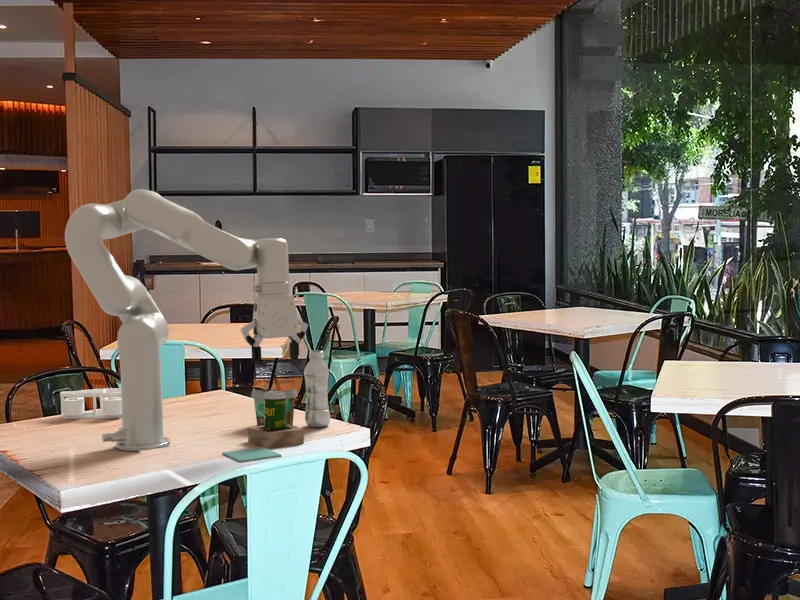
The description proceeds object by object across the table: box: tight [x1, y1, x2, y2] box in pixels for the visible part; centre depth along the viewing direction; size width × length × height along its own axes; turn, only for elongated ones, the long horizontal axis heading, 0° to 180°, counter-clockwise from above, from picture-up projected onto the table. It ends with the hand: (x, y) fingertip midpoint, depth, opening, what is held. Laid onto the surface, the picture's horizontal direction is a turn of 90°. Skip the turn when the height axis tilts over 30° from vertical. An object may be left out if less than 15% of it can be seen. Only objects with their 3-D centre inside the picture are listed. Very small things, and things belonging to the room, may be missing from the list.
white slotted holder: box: [59, 387, 122, 420], centre depth 268 cm, size 20×11×7 cm, turn 90°
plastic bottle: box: [303, 349, 331, 428], centre depth 250 cm, size 6×7×20 cm
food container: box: [250, 387, 298, 426], centre depth 250 cm, size 12×6×10 cm, turn 81°
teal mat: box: [222, 446, 282, 463], centre depth 218 cm, size 10×10×1 cm
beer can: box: [264, 392, 287, 432], centre depth 231 cm, size 5×5×12 cm
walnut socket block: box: [247, 423, 305, 449], centre depth 232 cm, size 10×10×4 cm
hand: (275, 361), depth 231 cm, fingers open, 9 cm apart
